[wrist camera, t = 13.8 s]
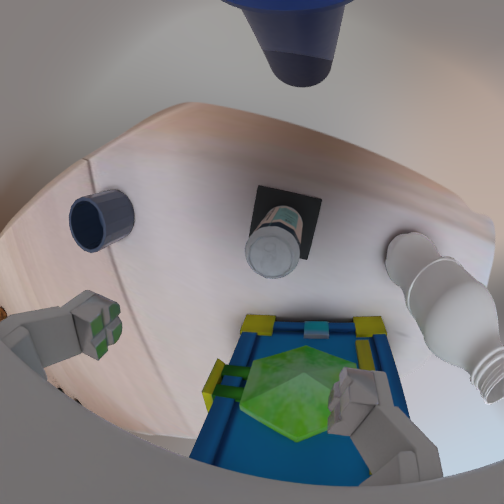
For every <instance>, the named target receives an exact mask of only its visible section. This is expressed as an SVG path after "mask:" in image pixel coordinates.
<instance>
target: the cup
mask: <svg viewBox="0 0 504 504" xmlns="http://www.w3.org/2000/svg"><path fill="white" fill-rule="evenodd" d="M133 225H134V210H133V206H132V204H131V202H130V200H129V199H128V197H127V196H126V195H125V194H124V193H122V192H121V191H119V190H107V191H103V192H99V193H95V194H92V195H88V196H84V197H81V198H79V199H77V200H76V201H75V202H74V203H73V205H72V206H71V209H70V213H69V226H70V230H71V233H72V236H73V238H74V240H75V241H76V243H77V245H78V246H80V247H81V248H82V249H83V250H84V251H87V252H90V253H93V252H98V251H100V250H101V249H103V248H105V247H107V246H109V245H111V244H113V243H115V242H117V241H119V240H121V239H123V238H124V237H126V236H127V235H128V234H129V233H130V232H131V230H132V228H133Z"/></svg>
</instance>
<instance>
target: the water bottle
mask: <svg viewBox="0 0 504 504" xmlns="http://www.w3.org/2000/svg"><path fill="white" fill-rule="evenodd" d="M385 264H386V270H387V272H388V275H389V277H390V278H391V280H392V281H393V282H394V283H395V284H396V285H398V286H400V287H401V288H402V290H403V293H404V296H405V302H406V306H407V308H408V310H409V312H410V314H411V315H412V316H413V317H414V318H415V320H416V322H417V324H418V326H419V328H420V330H421V332H422V334H423V335H424V340H425V343H426V345H427V346H428V348H429V349H430V350H431V351H432V352H433V353H434V354H435V355H436V356H437V357H438V358H440V359H441V360H443V361H445V362H447V363H450V364H451V365H454V366H457V367H460V368H462V369H464V370H465V371H467V372H468V373H469V374H470V381H471V383H472V385H473V386H475V387H476V389H477V390H479V391H480V393H481V395H482V398H483V399H484V402H485V403H486V404H493V403H495V402H498V401H499V400H501V399H502V398H504V345H502V343H501V341H500V337H499V330H498V329H499V328H498V317H497V311H496V306H495V303H494V300H493V298H492V296H491V294H490V292H489V291H488V290H487V288H486V287H485V286H484V285H483V284H482V283H480V282H478V281H477V280H476V279H475V278H473V277H472V276H471V275H470V274H469V273H468V272H467V271H466V270H464V268H463V267H462V265H461V264H460V263H459V262H457V261H456V260H455V259H454V258H452V257H442V256H441V255H440V254H439V253H438V251H437V249H436V247H435V245H434V243H433V242H432V241H431V240H430V239H429V238H428V237H426V236H425V235H423V234H420V233H417V232H410V233H409V234H401V235H398V236H396V237H395V238H394V239H393V240H392V241H391V243H390V244H389V246H388V250H387V258H386V260H385Z"/></svg>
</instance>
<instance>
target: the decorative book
mask: <svg viewBox="0 0 504 504" xmlns="http://www.w3.org/2000/svg"><path fill="white" fill-rule="evenodd" d="M240 335H241V336H240V338H239V341H238V343H237V346H236V348H235V351H234V353H233V355H232V358H231V360H230V363H229V365H226V364H225V363H224V362H222V361H221V360H220V359H217V361H216V363H215V365H214V367H213V369H212V371H211V373H210V375H209V377H208V380H207V382H206V384H205V386H204V388H203V390H202V394H203V398H204V401H205V405H206V408H207V411H208V415H207V417H206V420H205V422H204V424H203V427H202V429H201V431H200V434H199V436H198V438H197V440H196V443H195V445H194V447H193V449H192V452H191V454H190V456H189V458H191V459H194V460H197V461H200V462H203V463H207V464H210V465H213V466H217V467H220V468H224V469H227V470H231V471H235V472H239V473H243V474H248V475H252V476H257V477H262V478H267V479H273V480H279V481H286V482H293V483H301V484H311V485H324V486H359V485H360V484H361V483H362V482H363V481H365V480H366V479H367V478H369V477H370V476H371V475H372V473H371V471H370V470H369V468H368V466H367V465H366V463H365V461H364V460H363V458H362V456H361V455H360V453H359V451H358V450H357V448H356V446H355V445H354V443H353V441H352V440H351V438H350V437H351V436H344V435H335V434H328V433H327V422H328V417H329V415H330V414H331V412H330V411H329V409H328V398H329V394H330V391H331V389H332V387H333V385H334V383H336V382H338V381H339V374H340V372H341V370H342V369H343V368H344V367H350V368H356V369H363V370H370V371H371V370H373V371H382V372H385V373H386V375H387V379H388V383H389V387H390V391H391V395H392V400H393V404H394V406H396V407H399V409H400V410H401V411H402V412H403V413H404V414H405V415H406V416H407V417H408V418H409V419H410V416H409V412H408V408H407V404H406V400H405V396H404V393H403V389H402V386H401V382H400V378H399V375H398V371H397V368H396V365H395V361H394V358H393V355H392V352H391V349H390V346H389V343H388V340H387V337H386V336H387V331H386V329H385V326H384V323H383V320H382V318H381V316H374V317H353V323H328V321H305V322H278V321H276V316H270V315H249V314H247V315H246V318H245V320H244V323H243V325H242V327H241V330H240Z"/></svg>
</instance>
